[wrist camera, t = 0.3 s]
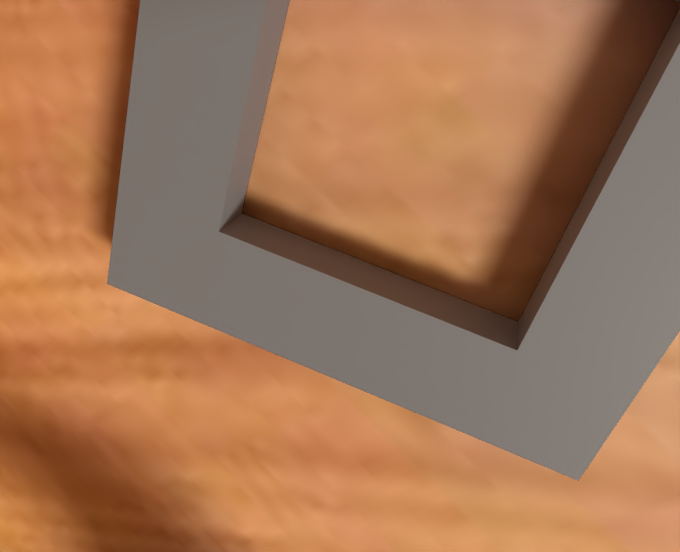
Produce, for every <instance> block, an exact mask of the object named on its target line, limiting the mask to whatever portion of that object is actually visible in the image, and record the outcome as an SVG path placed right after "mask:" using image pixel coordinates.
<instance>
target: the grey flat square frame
mask: <svg viewBox="0 0 680 552" xmlns="http://www.w3.org/2000/svg"><path fill="white" fill-rule="evenodd" d="M289 1H290V0H140V6H139V15H138V23H137V32H136V41H135V49H134V58H133V66H132V75H131V83H130V92H129V101H128V109H127V118H126V126H125V135H124V144H123V152H122V161H121V169H120V178H119V186H118V195H117V204H116V212H115V221H114V229H113V238H112V247H111V255H110V264H109V272H108V281H107V284H109V285H111V286H114V287H116V288H119V289H121V290H123V291H126V292H128V293H130V294H133V295H135V296H138V297H140V298H142V299H145V300H147V301H150V302H152V303H154V304H157V305H159V306H162V307H164V308H166V309H169V310H171V311H174V312H176V313H178V314H181V315H183V316H185V317H188V318H190V319H193V320H195V321H197V322H200V323H202V324H205V325H207V326H209V327H212V328H214V329H217V330H219V331H221V332H224V333H226V334H229V335H231V336H233V337H236V338H238V339H241V340H243V341H245V342H248V343H250V344H252V345H255V346H257V347H260V348H262V349H264V350H267V351H269V352H272V353H274V354H276V355H279V356H281V357H284V358H286V359H288V360H291V361H293V362H296V363H298V364H300V365H303V366H305V367H307V368H310V369H312V370H315V371H317V372H319V373H322V374H324V375H327V376H329V377H331V378H334V379H336V380H339V381H341V382H343V383H346V384H348V385H351V386H353V387H355V388H358V389H360V390H363V391H365V392H367V393H370V394H372V395H374V396H377V397H379V398H382V399H384V400H386V401H389V402H391V403H394V404H396V405H398V406H401V407H403V408H406V409H408V410H410V411H413V412H415V413H418V414H420V415H422V416H425V417H427V418H429V419H432V420H434V421H437V422H439V423H441V424H444V425H446V426H449V427H451V428H453V429H456V430H458V431H461V432H463V433H465V434H468V435H470V436H473V437H475V438H477V439H480V440H482V441H485V442H487V443H489V444H492V445H494V446H496V447H499V448H501V449H504V450H506V451H508V452H511V453H513V454H516V455H518V456H520V457H523V458H525V459H528V460H530V461H532V462H535V463H537V464H540V465H542V466H544V467H547V468H549V469H551V470H554V471H556V472H559V473H561V474H563V475H566V476H568V477H571V478H573V479H575V480H578V481H579V479H580V478H581V476H582V475H583V473H584V472H585V470H586V469H587V467H588V466H589V465H590V463H591V462H592V460H593V459H594V457H595V456H596V454H597V453H598V451H599V450H600V448H601V447H602V445H603V444H604V442H605V441H606V439H607V438H608V436H609V435H610V433H611V432H612V430H613V429H614V427H615V426H616V425H617V423H618V422H619V420H620V419H621V417H622V416H623V414H624V413H625V411H626V410H627V408H628V407H629V405H630V404H631V402H632V401H633V399H634V398H635V396H636V395H637V393H638V392H639V390H640V389H641V387H642V386H643V385H644V383H645V382H646V380H647V379H648V377H649V376H650V374H651V373H652V371H653V370H654V368H655V367H656V365H657V364H658V362H659V361H660V359H661V358H662V356H663V355H664V353H665V352H666V350H667V349H668V348H669V346H670V345H671V343H672V342H673V340H674V339H675V337H676V336H677V334H678V333H679V331H680V9H679V11H678V13H677V15H676V17H675V19H674V21H673V23H672V25H671V26H670V28H669V30H668V32H667V34H666V36H665V38H664V40H663V42H662V44H661V46H660V48H659V50H658V52H657V54H656V56H655V58H654V59H653V61H652V63H651V65H650V67H649V69H648V71H647V73H646V75H645V77H644V79H643V81H642V83H641V85H640V87H639V89H638V91H637V92H636V94H635V96H634V98H633V100H632V102H631V104H630V106H629V108H628V110H627V112H626V114H625V116H624V118H623V120H622V122H621V124H620V126H619V127H618V129H617V131H616V133H615V135H614V137H613V139H612V141H611V143H610V145H609V147H608V149H607V151H606V153H605V155H604V157H603V159H602V160H601V162H600V164H599V166H598V168H597V170H596V172H595V174H594V176H593V178H592V180H591V182H590V184H589V186H588V188H587V190H586V192H585V194H584V195H583V197H582V199H581V201H580V203H579V205H578V207H577V209H576V211H575V213H574V215H573V217H572V219H571V221H570V223H569V225H568V227H567V228H566V230H565V232H564V234H563V236H562V238H561V240H560V242H559V244H558V246H557V248H556V250H555V252H554V254H553V256H552V258H551V260H550V261H549V263H548V265H547V267H546V269H545V271H544V273H543V275H542V277H541V279H540V281H539V283H538V285H537V287H536V289H535V291H534V293H533V295H532V296H531V298H530V300H529V302H528V304H527V306H526V308H525V310H524V312H523V314H522V316H521V318H520V320H519V322H517V321H515V320H512V319H510V318H507V317H505V316H502V315H499V314H497V313H494V312H492V311H489V310H487V309H484V308H482V307H479V306H477V305H474V304H472V303H469V302H466V301H464V300H461V299H459V298H456V297H454V296H451V295H449V294H446V293H444V292H441V291H438V290H436V289H433V288H431V287H428V286H426V285H423V284H421V283H418V282H416V281H413V280H410V279H408V278H405V277H403V276H400V275H398V274H395V273H393V272H390V271H388V270H385V269H382V268H380V267H377V266H375V265H372V264H370V263H367V262H365V261H362V260H360V259H357V258H355V257H352V256H349V255H347V254H344V253H342V252H339V251H337V250H334V249H332V248H329V247H327V246H324V245H321V244H319V243H316V242H314V241H311V240H309V239H306V238H304V237H301V236H299V235H296V234H293V233H291V232H288V231H286V230H283V229H281V228H278V227H276V226H273V225H271V224H268V223H266V222H263V221H260V220H258V219H255V218H253V217H250V216H248V215H245V214H243V213H242V209H243V205H244V200H245V196H246V191H247V187H248V182H249V178H250V174H251V169H252V165H253V160H254V156H255V151H256V147H257V143H258V138H259V134H260V129H261V125H262V121H263V116H264V112H265V107H266V103H267V98H268V94H269V90H270V85H271V81H272V76H273V72H274V67H275V63H276V59H277V54H278V50H279V45H280V41H281V36H282V32H283V28H284V23H285V19H286V14H287V10H288V5H289ZM675 1H678V2H680V0H675Z"/></svg>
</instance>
